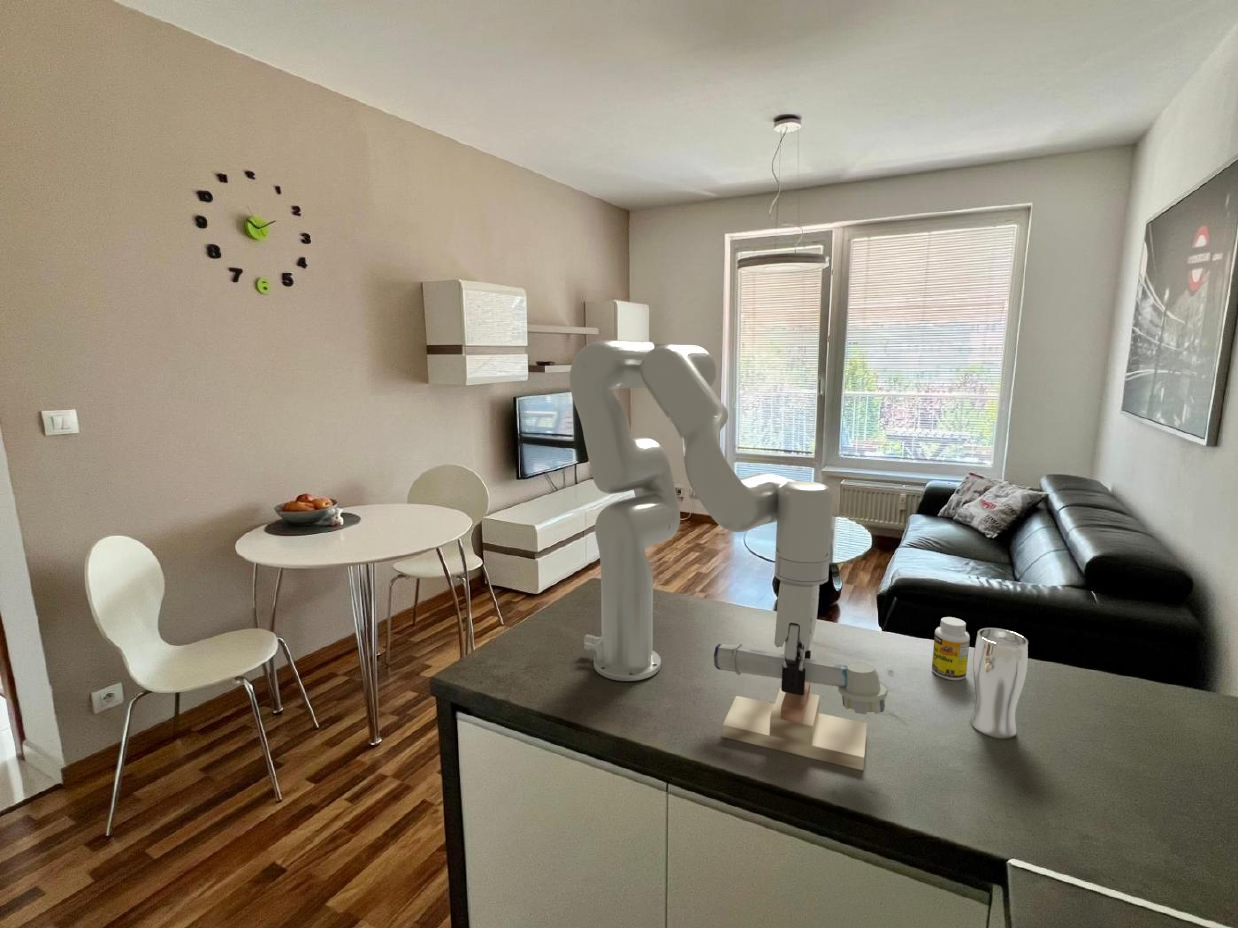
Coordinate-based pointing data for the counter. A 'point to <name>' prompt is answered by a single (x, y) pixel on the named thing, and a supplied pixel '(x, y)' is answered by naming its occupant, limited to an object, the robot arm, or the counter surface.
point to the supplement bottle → (951, 649)
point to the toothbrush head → (810, 675)
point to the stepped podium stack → (797, 728)
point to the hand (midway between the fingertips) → (795, 681)
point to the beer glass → (998, 680)
